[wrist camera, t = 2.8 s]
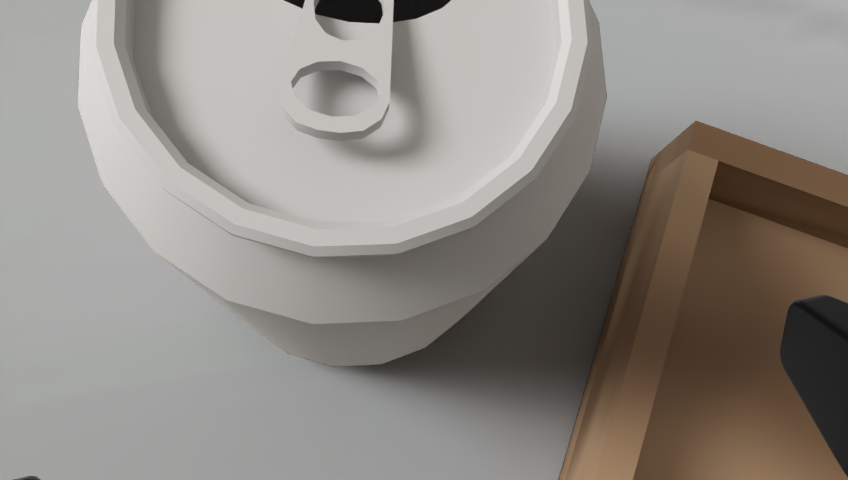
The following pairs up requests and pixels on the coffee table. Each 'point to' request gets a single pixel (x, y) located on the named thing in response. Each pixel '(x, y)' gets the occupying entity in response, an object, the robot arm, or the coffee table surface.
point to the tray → (713, 319)
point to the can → (343, 152)
